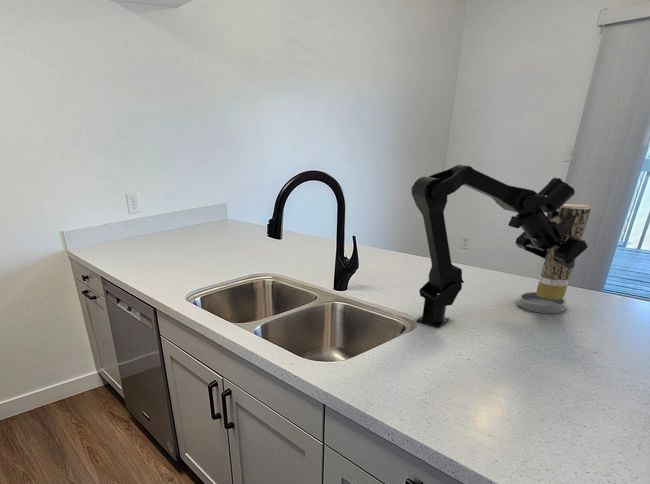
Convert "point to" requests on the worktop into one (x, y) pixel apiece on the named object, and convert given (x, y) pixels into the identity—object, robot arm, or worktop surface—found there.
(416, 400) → the worktop surface
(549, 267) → the paper tube
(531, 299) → the stand
